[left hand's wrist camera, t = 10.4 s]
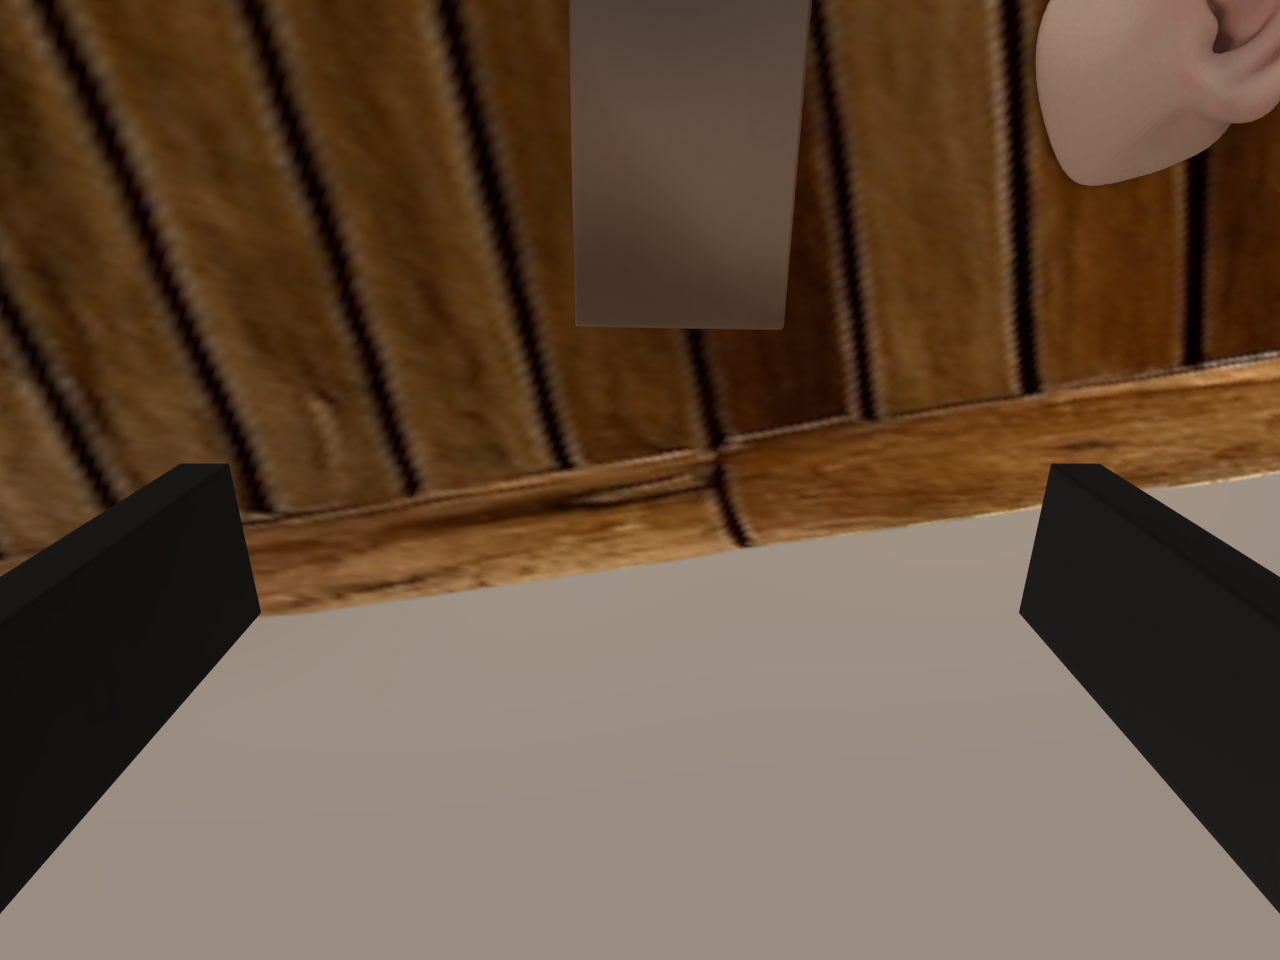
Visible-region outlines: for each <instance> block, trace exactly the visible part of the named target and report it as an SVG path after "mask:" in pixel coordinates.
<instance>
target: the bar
mask: <svg viewBox="0 0 1280 960" xmlns="http://www.w3.org/2000/svg"><path fill="white" fill-rule="evenodd" d="M811 2H812V0H568V5H569V59H570V112H571V166H572V220H573V274H574V323H575V326H577V327H625V328H692V329H758V330H781V329H783V327H784V317H785V305H786V293H787V282H788V270H789V258H790V247H791V235H792V223H793V212H794V200H795V189H796V177H797V165H798V154H799V142H800V130H801V119H802V107H803V95H804V84H805V72H806V60H807V49H808V37H809V26H810V14H811Z"/></svg>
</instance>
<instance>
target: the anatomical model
mask: <svg viewBox="0 0 1280 960" xmlns="http://www.w3.org/2000/svg"><path fill="white" fill-rule="evenodd" d="M1036 82H1037V89H1038V96H1039V102H1040V106H1041V110H1042V115H1043V119H1044V123H1045V127H1046V130H1047V133H1048V136H1049V139H1050V143H1051V145H1052V148H1053V150H1054V153H1055V155H1056V157H1057V160H1058V162H1059V164H1060V165H1061V167H1062V169H1063V170H1064V172H1065V173H1066V174H1067V175H1068V176H1069V177H1070V178H1071V179H1072V180H1073V181H1075V182H1077V183H1079V184H1082V185H1089V186H1099V185H1105V184H1111V183H1117V182H1120V181H1124V180H1128V179H1132V178H1135V177H1139V176H1143V175H1147V174H1150V173H1153V172H1156V171H1160V170H1162V169H1165V168H1167V167H1170V166H1172V165H1174V164H1176V163H1179V162H1181V161H1183V160H1185V159H1188V158H1190V157H1192V156H1194V155H1196V154H1198V153H1200V152H1202V151H1203V150H1205V149H1207V148H1208V147H1209V146H1211V145H1212V144H1213V143H1214V142H1215V141H1217V140H1218V139H1219V138H1220V137H1221V135H1222V134H1223V133H1224V132H1225V131H1226V130H1227V128H1228V127H1229V125H1230V124H1231V123H1246V122H1251V121H1254V120H1256V119H1259V118H1261V117H1263V116H1264V115H1266V114H1267V113H1269V112H1270V111H1271V110H1272V109H1273V108H1274V107H1275V106H1276V105H1277V104H1278V102H1279V101H1280V0H1050V1H1049V3H1048V5H1047V8H1046V10H1045V12H1044V15H1043V18H1042V21H1041V24H1040V28H1039V33H1038V39H1037V45H1036Z"/></svg>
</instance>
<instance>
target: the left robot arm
mask: <svg viewBox="0 0 1280 960" xmlns="http://www.w3.org/2000/svg"><path fill="white" fill-rule="evenodd" d="M260 613H261V611H260V606H259V601H258V597H257V592H256V588H255V583H254V578H253V574H252V569H251V564H250V560H249V555H248V551H247V546H246V541H245V537H244V532H243V527H242V523H241V518H240V514H239V509H238V504H237V500H236V495H235V491H234V486H233V481H232V477H231V472H230V467H229V464H179V465H178V466H176V467H175V468H173V469H171V470H170V471H168V472H167V473H165V474H163V475H162V476H160V477H159V478H157V479H156V480H154V481H152V482H151V483H149V484H148V485H146V486H144V487H143V488H141V489H140V490H138V491H136V492H135V493H133V494H132V495H130V496H128V497H127V498H125V499H124V500H122V501H120V502H119V503H117V504H116V505H114V506H113V507H111V508H109V509H108V510H106V511H105V512H103V513H101V514H100V515H98V516H97V517H95V518H93V519H92V520H90V521H89V522H87V523H85V524H84V525H82V526H81V527H79V528H77V529H76V530H74V531H73V532H71V533H69V534H68V535H66V536H65V537H63V538H62V539H60V540H58V541H57V542H55V543H54V544H52V545H50V546H49V547H47V548H46V549H44V550H42V551H41V552H39V553H38V554H36V555H34V556H33V557H31V558H30V559H28V560H26V561H25V562H23V563H22V564H20V565H19V566H17V567H15V568H14V569H12V570H11V571H9V572H7V573H6V574H4V575H3V576H1V577H0V913H1V912H2V911H3V910H4V909H5V907H6V906H7V905H8V904H9V903H10V902H11V901H12V899H13V898H14V897H15V896H16V895H17V894H18V892H19V891H20V890H21V889H22V888H23V887H24V886H25V884H26V883H27V882H28V881H29V880H30V879H31V877H32V876H33V875H34V874H35V873H36V872H37V871H38V869H39V868H40V867H41V866H42V865H43V864H44V862H45V861H46V860H47V859H48V858H49V857H50V855H51V854H52V853H53V852H54V851H55V850H56V849H57V847H58V846H59V845H60V844H61V843H62V842H63V841H64V839H65V838H66V837H67V836H68V835H69V834H70V832H71V831H72V830H73V829H74V828H75V827H76V826H77V824H78V823H79V822H80V821H81V820H82V819H83V817H84V816H85V815H86V814H87V813H88V812H89V811H90V809H91V808H92V807H93V806H94V805H95V804H96V802H97V801H98V800H99V799H100V798H101V797H102V796H103V794H104V793H105V792H106V791H107V790H108V789H109V787H110V786H111V785H112V784H113V783H114V782H115V781H116V779H117V778H118V777H119V776H120V775H121V774H122V772H123V771H124V770H125V769H126V768H127V767H128V766H129V764H130V763H131V762H132V761H133V760H134V759H135V757H136V756H137V755H138V754H139V753H140V752H141V751H142V749H143V748H144V747H145V746H146V745H147V744H148V742H149V741H150V740H151V739H152V738H153V737H154V735H155V734H156V733H157V732H158V731H159V730H160V729H161V727H162V726H163V725H164V724H165V723H166V722H167V721H168V719H169V718H170V717H171V716H172V715H173V714H174V712H175V711H176V710H177V709H178V708H179V707H180V705H181V704H182V703H183V702H184V701H185V700H186V699H187V697H188V696H189V695H190V694H191V693H192V692H193V690H194V689H195V688H196V687H197V686H198V685H199V684H200V682H201V681H202V680H203V679H204V678H205V677H206V676H207V674H208V673H209V672H210V671H211V670H212V669H213V667H214V666H215V665H216V664H217V663H218V662H219V661H220V659H221V658H222V657H223V656H224V655H225V654H226V652H227V651H228V650H229V649H230V648H231V647H232V646H233V644H234V643H235V642H236V641H237V640H238V639H239V637H240V636H241V635H242V634H243V633H244V632H245V631H246V629H247V628H248V627H249V626H250V625H251V624H252V622H253V621H254V620H255V619H256V618H257V617H258V616H259V614H260ZM1019 613H1020V614H1021V616H1022V617H1023V618H1024V619H1025V620H1026V621H1027V622H1028V624H1029V625H1030V626H1031V627H1032V628H1033V629H1034V630H1035V632H1036V633H1037V634H1038V635H1039V636H1040V637H1041V639H1042V640H1043V641H1044V642H1045V643H1046V644H1047V646H1048V647H1049V648H1050V649H1051V650H1052V651H1053V652H1054V654H1055V655H1056V656H1057V657H1058V658H1059V659H1060V661H1061V662H1062V663H1063V664H1064V665H1065V666H1066V667H1067V669H1068V670H1069V671H1070V672H1071V673H1072V674H1073V676H1074V677H1075V678H1076V679H1077V680H1078V681H1079V682H1080V684H1081V685H1082V686H1083V687H1084V688H1085V689H1086V691H1087V692H1088V693H1089V694H1090V695H1091V696H1092V697H1093V699H1094V700H1095V701H1096V702H1097V703H1098V704H1099V706H1100V707H1101V708H1102V709H1103V710H1104V711H1105V712H1106V714H1107V715H1108V716H1109V717H1110V718H1111V719H1112V720H1113V722H1114V723H1115V724H1116V725H1117V726H1118V727H1119V729H1120V730H1121V731H1122V732H1123V733H1124V734H1125V735H1126V737H1127V738H1128V739H1129V740H1130V741H1131V742H1132V744H1133V745H1134V746H1135V747H1136V748H1137V749H1138V751H1139V752H1140V753H1141V754H1142V755H1143V756H1144V757H1145V759H1146V760H1147V761H1148V762H1149V763H1150V764H1151V766H1152V767H1153V768H1154V769H1155V770H1156V771H1157V772H1158V774H1159V775H1160V776H1161V777H1162V778H1163V779H1164V781H1165V782H1166V783H1167V784H1168V785H1169V786H1170V787H1171V789H1172V790H1173V791H1174V792H1175V793H1176V794H1177V796H1178V797H1179V798H1180V799H1181V800H1182V801H1183V802H1184V804H1185V805H1186V806H1187V807H1188V808H1189V809H1190V811H1191V812H1192V813H1193V814H1194V815H1195V816H1196V817H1197V819H1198V820H1199V821H1200V822H1201V823H1202V824H1203V825H1204V827H1205V828H1206V829H1207V830H1208V831H1209V832H1210V834H1211V835H1212V836H1213V837H1214V838H1215V839H1216V841H1217V842H1218V843H1219V844H1220V845H1221V846H1222V847H1223V849H1224V850H1225V851H1226V852H1227V853H1228V854H1229V856H1230V857H1231V858H1232V859H1233V860H1234V861H1235V862H1236V864H1237V865H1238V866H1239V867H1240V868H1241V869H1242V871H1243V872H1244V873H1245V874H1246V875H1247V876H1248V877H1249V879H1250V880H1251V881H1252V882H1253V883H1254V884H1255V886H1256V887H1257V888H1258V889H1259V890H1260V891H1261V892H1262V894H1263V895H1264V896H1265V897H1266V898H1267V899H1268V901H1269V902H1270V903H1271V904H1272V905H1273V906H1274V907H1275V909H1276V910H1277V911H1278V912H1279V913H1280V577H1279V576H1277V575H1276V574H1274V573H1273V572H1271V571H1269V570H1268V569H1266V568H1265V567H1263V566H1261V565H1260V564H1258V563H1257V562H1255V561H1254V560H1252V559H1250V558H1249V557H1247V556H1246V555H1244V554H1242V553H1241V552H1239V551H1238V550H1236V549H1234V548H1233V547H1231V546H1230V545H1228V544H1226V543H1225V542H1223V541H1222V540H1220V539H1218V538H1217V537H1215V536H1214V535H1212V534H1211V533H1209V532H1207V531H1206V530H1204V529H1202V528H1201V527H1199V526H1198V525H1196V524H1195V523H1193V522H1191V521H1190V520H1188V519H1187V518H1185V517H1183V516H1182V515H1180V514H1179V513H1177V512H1175V511H1174V510H1172V509H1171V508H1169V507H1167V506H1166V505H1164V504H1163V503H1161V502H1160V501H1158V500H1156V499H1155V498H1153V497H1152V496H1150V495H1148V494H1147V493H1145V492H1144V491H1142V490H1140V489H1139V488H1137V487H1136V486H1134V485H1132V484H1131V483H1129V482H1128V481H1126V480H1124V479H1123V478H1121V477H1120V476H1118V475H1117V474H1115V473H1113V472H1112V471H1110V470H1109V469H1107V468H1105V467H1104V466H1102V465H1101V464H1051V467H1050V472H1049V477H1048V481H1047V486H1046V491H1045V495H1044V500H1043V504H1042V509H1041V514H1040V518H1039V523H1038V527H1037V532H1036V537H1035V541H1034V546H1033V551H1032V555H1031V560H1030V564H1029V569H1028V574H1027V578H1026V583H1025V588H1024V592H1023V597H1022V601H1021V606H1020V611H1019Z"/></svg>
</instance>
